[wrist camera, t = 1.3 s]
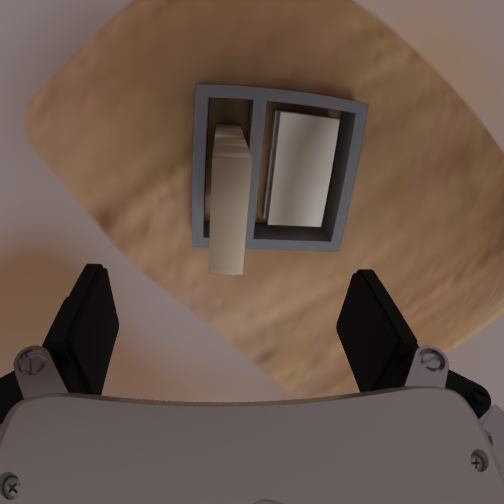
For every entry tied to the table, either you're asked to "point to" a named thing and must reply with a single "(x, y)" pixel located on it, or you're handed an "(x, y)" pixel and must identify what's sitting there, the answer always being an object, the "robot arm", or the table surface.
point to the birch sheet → (229, 200)
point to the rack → (260, 233)
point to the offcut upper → (300, 168)
